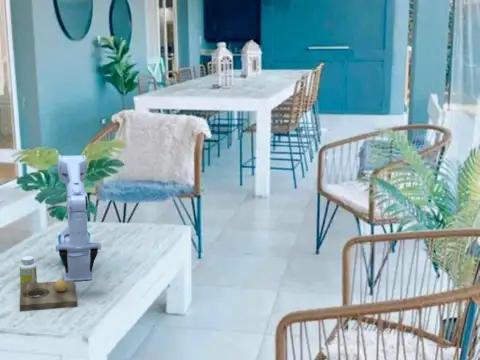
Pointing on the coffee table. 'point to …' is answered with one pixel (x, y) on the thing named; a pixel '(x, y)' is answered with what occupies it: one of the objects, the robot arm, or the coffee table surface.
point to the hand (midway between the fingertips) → (79, 271)
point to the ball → (61, 285)
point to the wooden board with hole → (46, 296)
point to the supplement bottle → (28, 270)
